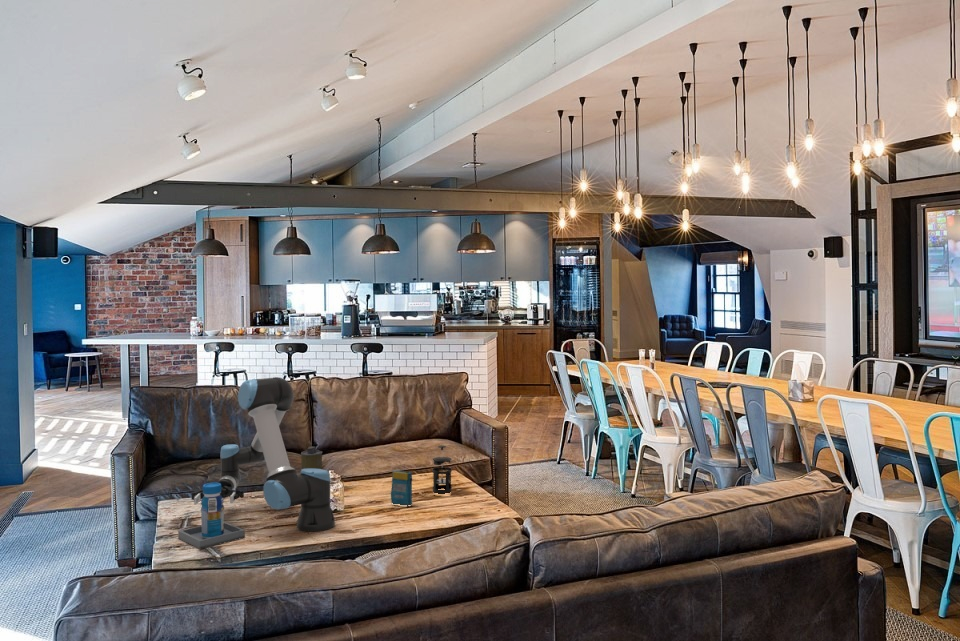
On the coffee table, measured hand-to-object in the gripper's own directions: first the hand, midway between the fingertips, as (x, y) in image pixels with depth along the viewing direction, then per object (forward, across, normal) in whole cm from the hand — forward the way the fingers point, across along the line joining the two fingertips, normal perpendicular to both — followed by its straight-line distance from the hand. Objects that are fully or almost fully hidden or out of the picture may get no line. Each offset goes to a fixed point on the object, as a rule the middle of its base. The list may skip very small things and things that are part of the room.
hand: (213, 500), depth 283 cm
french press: (-48, -94, -14) cm, 106 cm away
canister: (-70, -31, -14) cm, 78 cm away
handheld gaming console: (-30, -74, -14) cm, 81 cm away
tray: (+4, 0, -14) cm, 14 cm away
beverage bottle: (+4, -1, -13) cm, 13 cm away
